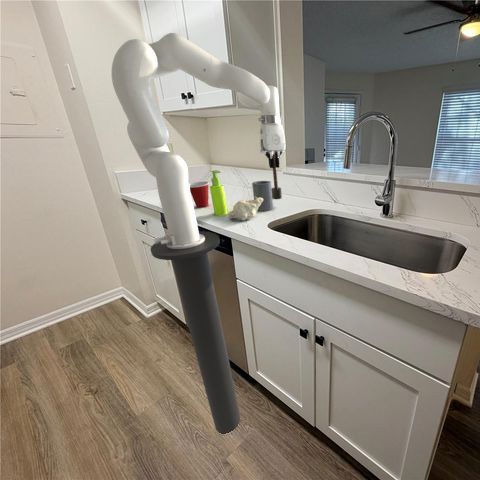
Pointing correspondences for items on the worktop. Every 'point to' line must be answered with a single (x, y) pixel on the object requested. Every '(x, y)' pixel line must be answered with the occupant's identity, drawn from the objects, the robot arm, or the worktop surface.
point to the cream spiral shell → (245, 209)
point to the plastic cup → (200, 193)
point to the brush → (276, 183)
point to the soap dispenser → (218, 195)
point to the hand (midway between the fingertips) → (274, 167)
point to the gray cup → (263, 194)
